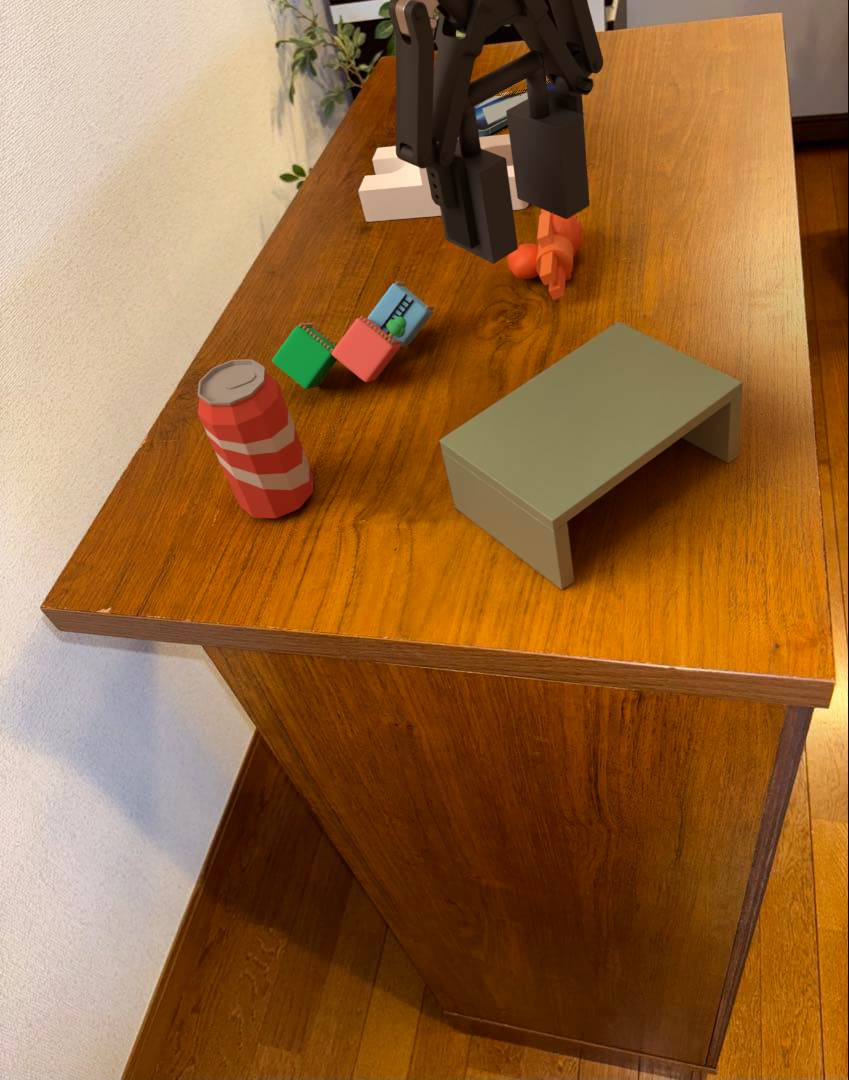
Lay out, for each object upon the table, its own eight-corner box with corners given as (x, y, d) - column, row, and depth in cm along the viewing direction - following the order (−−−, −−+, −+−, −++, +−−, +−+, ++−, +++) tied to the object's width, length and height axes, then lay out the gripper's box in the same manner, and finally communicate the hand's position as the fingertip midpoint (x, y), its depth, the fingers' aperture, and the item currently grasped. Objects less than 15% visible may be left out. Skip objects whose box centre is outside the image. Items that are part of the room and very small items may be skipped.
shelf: (738, 455, 73) (742, 381, 68) (562, 590, 68) (552, 521, 63) (622, 391, 81) (618, 320, 76) (454, 508, 75) (438, 440, 70)
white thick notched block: (366, 222, 109) (341, 124, 101) (384, 178, 115) (362, 83, 107) (527, 208, 104) (514, 105, 96) (537, 163, 110) (526, 63, 102)
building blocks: (359, 410, 93) (437, 309, 90) (338, 418, 86) (422, 307, 82) (295, 358, 93) (371, 254, 90) (268, 361, 85) (350, 247, 82)
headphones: (590, 205, 74) (578, 49, 66) (493, 264, 71) (469, 108, 63) (540, 185, 77) (523, 34, 69) (446, 240, 74) (417, 89, 66)
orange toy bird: (568, 252, 86) (572, 184, 94) (492, 283, 89) (502, 215, 97) (590, 297, 89) (592, 228, 97) (516, 325, 92) (524, 256, 100)
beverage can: (327, 503, 78) (283, 384, 70) (252, 535, 77) (199, 419, 69) (303, 460, 83) (260, 344, 74) (233, 491, 82) (180, 376, 73)
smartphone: (447, 117, 121) (542, 67, 125) (449, 124, 122) (543, 75, 126) (482, 132, 116) (580, 81, 120) (483, 140, 117) (580, 88, 121)
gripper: (565, -201, 63) (589, 135, 79) (280, -80, 56) (369, 262, 72) (652, -198, 58) (658, 159, 74) (353, -66, 51) (431, 296, 67)
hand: (516, 209), depth 73 cm, fingers closed on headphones, 10 cm apart
